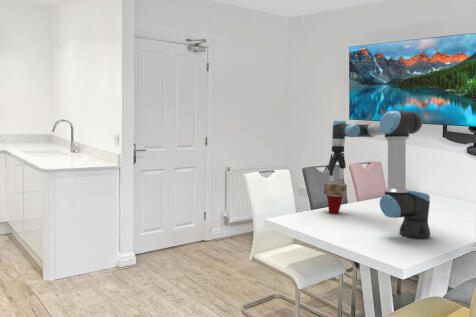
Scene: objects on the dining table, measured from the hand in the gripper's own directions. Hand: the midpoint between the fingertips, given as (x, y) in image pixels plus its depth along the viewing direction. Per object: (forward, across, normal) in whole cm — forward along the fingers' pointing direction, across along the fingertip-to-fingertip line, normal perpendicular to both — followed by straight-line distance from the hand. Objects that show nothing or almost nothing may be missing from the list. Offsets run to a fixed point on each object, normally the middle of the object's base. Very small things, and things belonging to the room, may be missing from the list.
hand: (336, 179), depth 274 cm
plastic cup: (+21, 0, -1) cm, 21 cm away
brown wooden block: (+9, 0, 0) cm, 9 cm away
